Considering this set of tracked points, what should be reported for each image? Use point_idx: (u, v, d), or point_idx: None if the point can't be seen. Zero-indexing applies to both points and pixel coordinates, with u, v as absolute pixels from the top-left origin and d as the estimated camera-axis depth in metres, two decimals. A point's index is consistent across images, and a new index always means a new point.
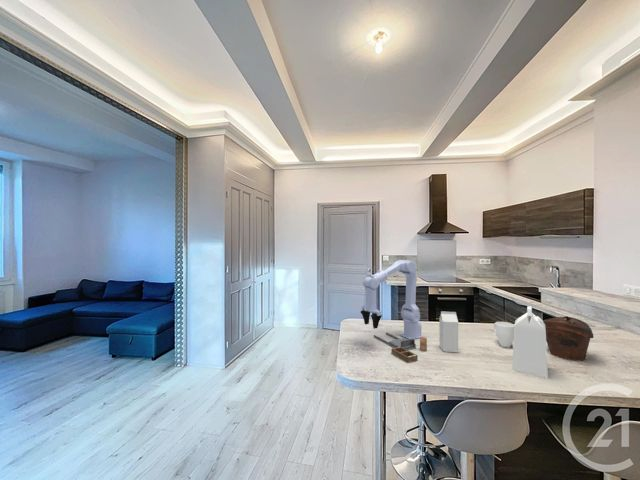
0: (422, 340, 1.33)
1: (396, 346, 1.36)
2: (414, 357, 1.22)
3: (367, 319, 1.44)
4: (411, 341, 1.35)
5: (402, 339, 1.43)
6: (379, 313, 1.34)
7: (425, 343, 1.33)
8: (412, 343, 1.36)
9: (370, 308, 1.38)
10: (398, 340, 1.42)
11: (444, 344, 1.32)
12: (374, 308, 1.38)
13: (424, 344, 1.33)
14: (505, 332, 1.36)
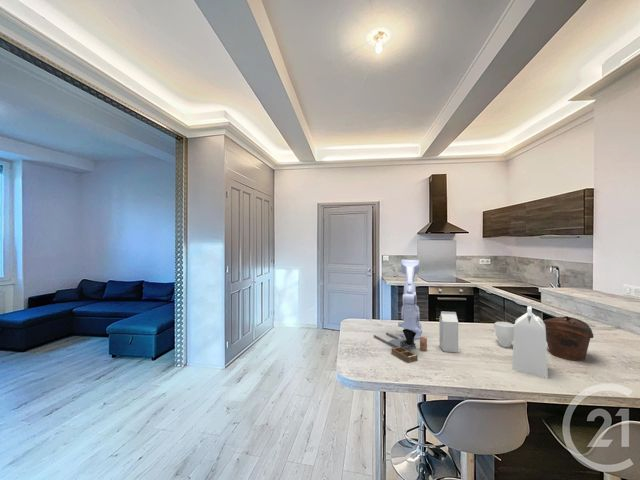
0: (422, 340, 1.33)
1: (396, 346, 1.36)
2: (414, 357, 1.22)
3: None
4: None
5: (401, 339, 1.43)
6: (420, 332, 1.27)
7: (425, 343, 1.33)
8: None
9: (410, 326, 1.31)
10: (397, 340, 1.42)
11: (444, 344, 1.32)
12: (414, 326, 1.31)
13: (424, 344, 1.33)
14: (505, 332, 1.36)
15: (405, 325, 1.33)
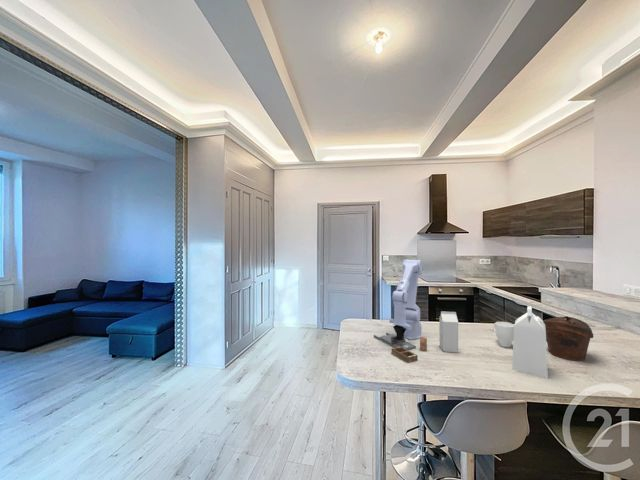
0: (422, 340, 1.33)
1: (396, 346, 1.36)
2: (414, 357, 1.22)
3: None
4: None
5: (393, 335, 1.50)
6: (410, 327, 1.34)
7: (425, 343, 1.33)
8: None
9: (400, 322, 1.37)
10: (389, 336, 1.48)
11: (444, 344, 1.32)
12: (404, 322, 1.38)
13: (424, 344, 1.33)
14: (505, 332, 1.36)
15: (395, 321, 1.39)
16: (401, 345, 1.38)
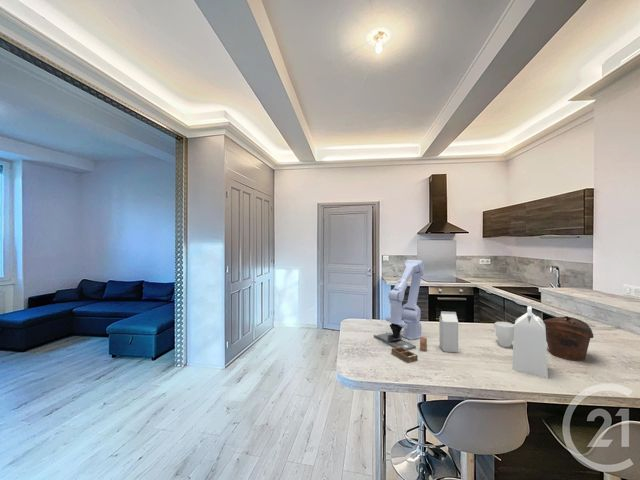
0: (422, 340, 1.33)
1: (396, 346, 1.36)
2: (414, 357, 1.22)
3: None
4: None
5: (389, 333, 1.52)
6: (406, 326, 1.36)
7: (425, 343, 1.33)
8: None
9: (396, 321, 1.40)
10: (386, 334, 1.51)
11: (444, 344, 1.32)
12: (400, 320, 1.40)
13: (424, 344, 1.33)
14: (505, 332, 1.36)
15: (392, 320, 1.41)
16: (401, 345, 1.38)
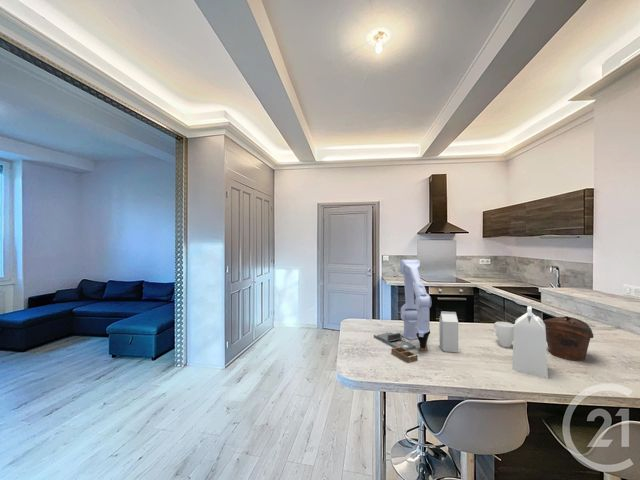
0: None
1: (396, 346, 1.36)
2: (414, 357, 1.22)
3: None
4: (397, 335, 1.44)
5: (389, 333, 1.52)
6: (420, 334, 1.28)
7: None
8: (398, 337, 1.45)
9: (418, 327, 1.33)
10: (386, 334, 1.51)
11: (444, 344, 1.32)
12: (422, 328, 1.32)
13: None
14: (505, 332, 1.36)
15: (417, 326, 1.36)
16: (401, 345, 1.38)
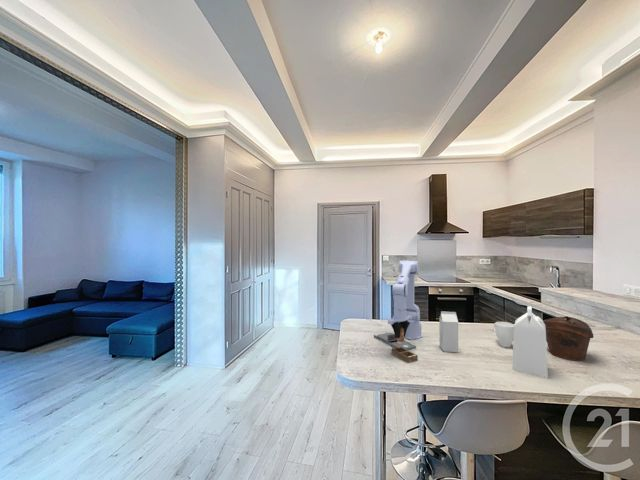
0: None
1: (396, 346, 1.36)
2: (414, 357, 1.22)
3: None
4: None
5: (389, 333, 1.52)
6: (389, 321, 1.25)
7: (400, 333, 1.27)
8: None
9: (394, 316, 1.29)
10: (386, 334, 1.51)
11: (444, 344, 1.32)
12: (396, 317, 1.27)
13: None
14: (505, 332, 1.36)
15: None
16: (401, 345, 1.38)
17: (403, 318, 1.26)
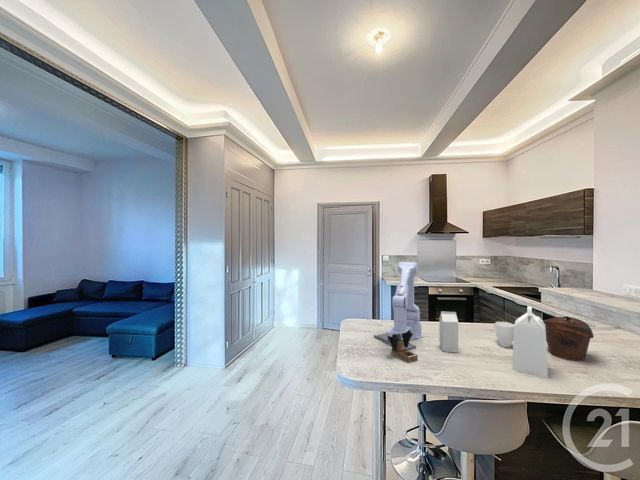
0: (397, 344, 1.28)
1: None
2: (414, 357, 1.22)
3: (406, 342, 1.30)
4: (397, 335, 1.44)
5: None
6: (389, 333, 1.25)
7: (400, 348, 1.27)
8: (398, 337, 1.45)
9: (394, 327, 1.29)
10: (386, 334, 1.51)
11: (444, 344, 1.32)
12: (396, 329, 1.27)
13: (399, 349, 1.27)
14: (505, 332, 1.36)
15: None
16: None
17: (403, 330, 1.26)
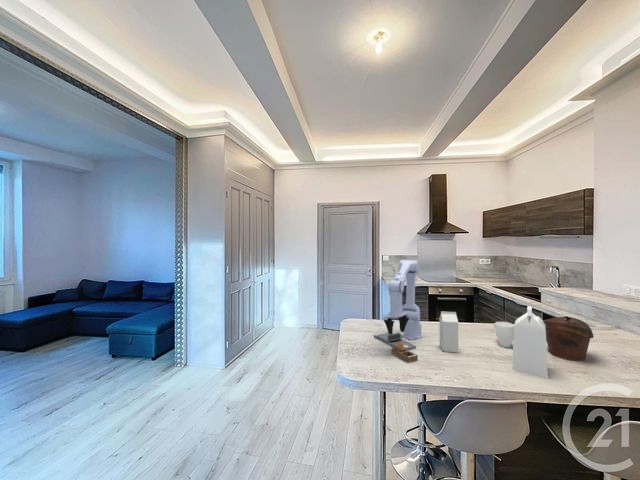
0: (397, 344, 1.28)
1: (396, 346, 1.36)
2: (414, 357, 1.22)
3: (402, 326, 1.32)
4: (397, 335, 1.44)
5: None
6: (384, 317, 1.28)
7: (400, 348, 1.27)
8: (398, 337, 1.45)
9: (390, 311, 1.32)
10: (386, 334, 1.51)
11: (444, 344, 1.32)
12: (392, 313, 1.30)
13: (399, 349, 1.27)
14: (505, 332, 1.36)
15: None
16: None
17: (398, 314, 1.28)
